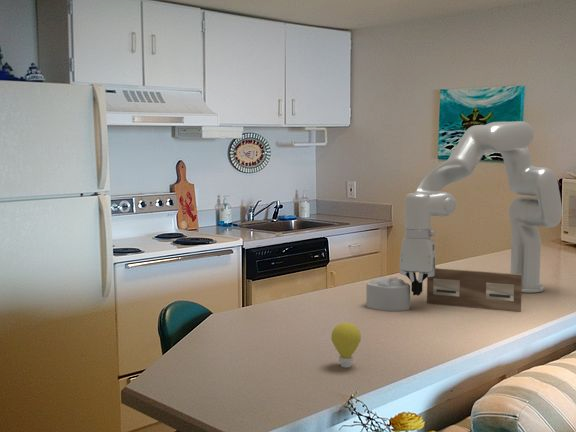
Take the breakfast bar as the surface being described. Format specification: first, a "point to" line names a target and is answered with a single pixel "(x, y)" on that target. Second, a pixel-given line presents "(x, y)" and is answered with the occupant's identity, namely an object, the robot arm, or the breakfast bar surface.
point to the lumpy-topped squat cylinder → (388, 294)
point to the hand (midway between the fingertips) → (416, 294)
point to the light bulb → (346, 342)
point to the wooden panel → (475, 289)
